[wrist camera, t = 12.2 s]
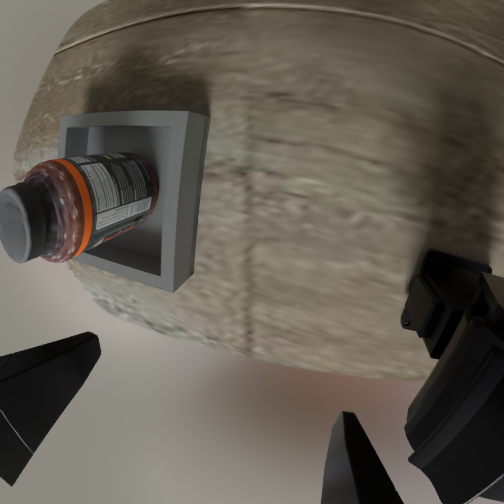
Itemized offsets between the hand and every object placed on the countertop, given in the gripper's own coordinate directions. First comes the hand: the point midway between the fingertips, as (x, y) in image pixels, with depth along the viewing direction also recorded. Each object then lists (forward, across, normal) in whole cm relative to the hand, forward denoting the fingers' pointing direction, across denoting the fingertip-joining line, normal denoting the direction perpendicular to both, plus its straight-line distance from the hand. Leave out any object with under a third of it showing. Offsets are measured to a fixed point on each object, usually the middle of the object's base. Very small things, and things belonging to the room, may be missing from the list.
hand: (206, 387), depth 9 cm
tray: (+13, +12, -3) cm, 18 cm away
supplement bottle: (+12, +12, -3) cm, 17 cm away
